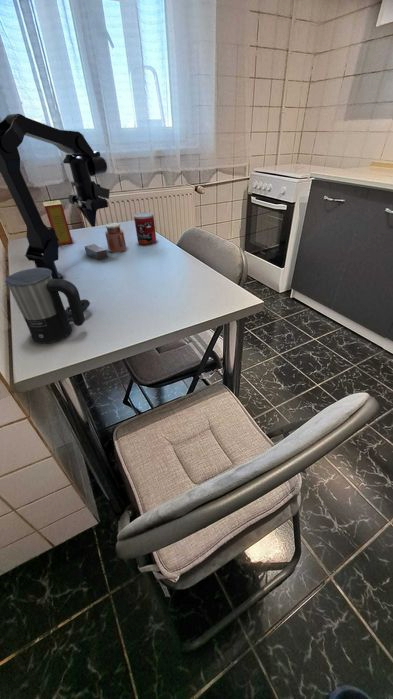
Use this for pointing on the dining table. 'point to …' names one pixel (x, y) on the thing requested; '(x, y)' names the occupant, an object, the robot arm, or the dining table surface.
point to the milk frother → (46, 303)
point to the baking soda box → (58, 221)
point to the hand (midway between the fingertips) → (93, 226)
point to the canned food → (145, 228)
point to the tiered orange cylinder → (115, 238)
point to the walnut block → (96, 251)
